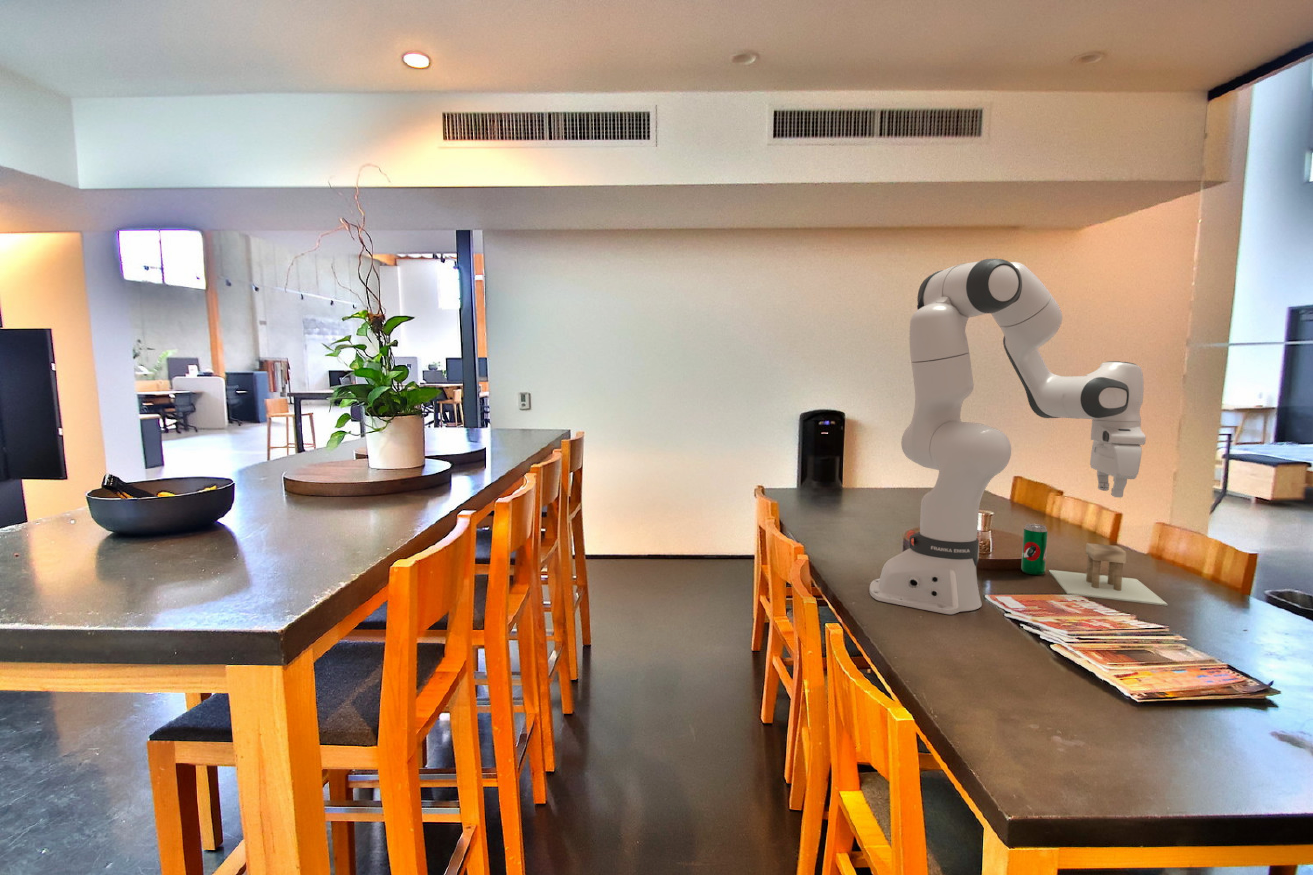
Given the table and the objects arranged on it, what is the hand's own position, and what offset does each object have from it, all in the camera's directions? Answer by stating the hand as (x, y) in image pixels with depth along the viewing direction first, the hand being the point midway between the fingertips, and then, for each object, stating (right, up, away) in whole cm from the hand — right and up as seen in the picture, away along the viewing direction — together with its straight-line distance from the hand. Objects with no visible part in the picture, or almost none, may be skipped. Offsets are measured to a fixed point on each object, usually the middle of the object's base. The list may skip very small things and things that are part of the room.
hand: (1109, 493), depth 136 cm
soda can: (-10, -21, +12) cm, 26 cm away
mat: (0, -22, +2) cm, 22 cm away
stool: (0, -22, +2) cm, 22 cm away
